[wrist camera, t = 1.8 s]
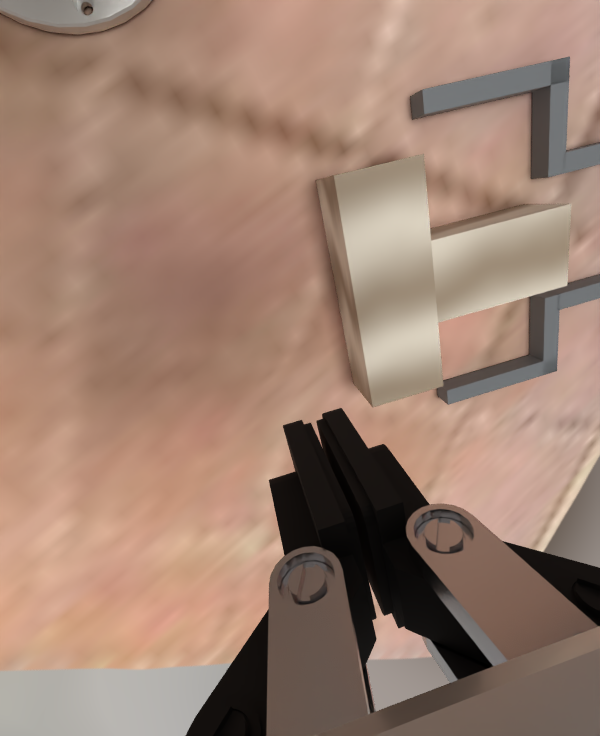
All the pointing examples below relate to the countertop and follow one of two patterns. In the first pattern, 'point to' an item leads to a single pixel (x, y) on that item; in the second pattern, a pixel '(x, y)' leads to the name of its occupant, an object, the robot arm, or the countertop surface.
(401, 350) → the t block
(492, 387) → the dock
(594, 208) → the countertop surface
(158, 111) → the countertop surface
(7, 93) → the countertop surface
